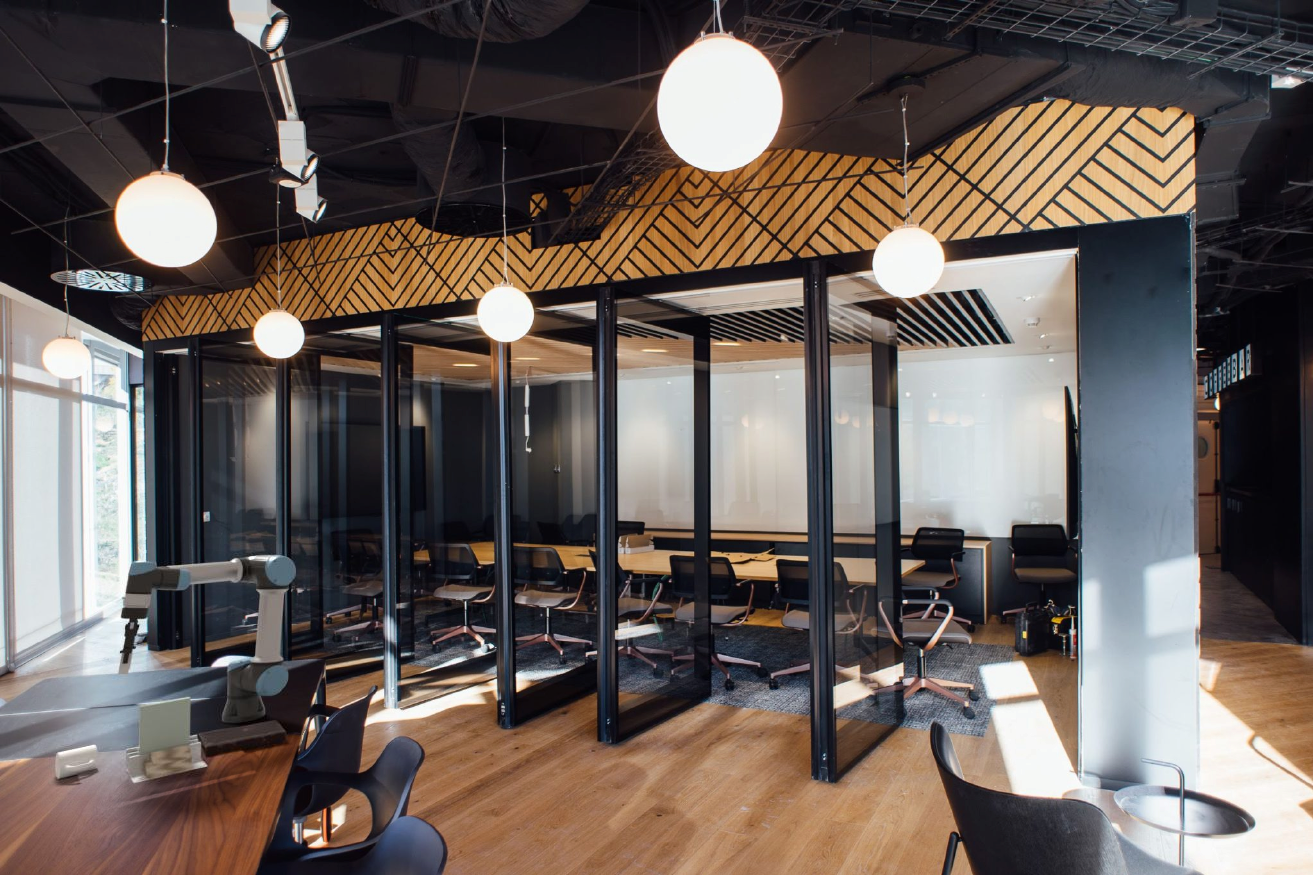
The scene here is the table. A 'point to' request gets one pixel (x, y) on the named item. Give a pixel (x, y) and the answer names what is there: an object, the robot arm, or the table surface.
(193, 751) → the rack
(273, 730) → the diary
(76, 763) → the mug
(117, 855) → the table surface
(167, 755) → the offcut upper
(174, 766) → the offcut lower
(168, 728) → the board
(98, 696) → the table surface
